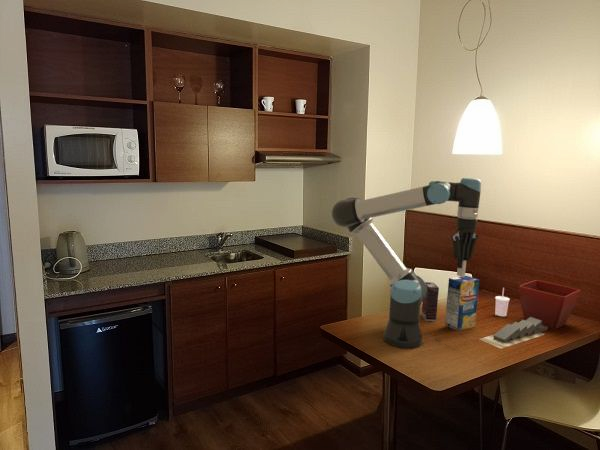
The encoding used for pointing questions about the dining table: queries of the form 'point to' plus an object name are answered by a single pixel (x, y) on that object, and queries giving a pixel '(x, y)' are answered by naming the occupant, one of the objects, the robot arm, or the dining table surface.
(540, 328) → the domino
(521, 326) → the domino
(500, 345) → the board
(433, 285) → the supplement box
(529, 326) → the domino
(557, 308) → the plant pot
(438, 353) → the dining table surface
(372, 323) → the dining table surface
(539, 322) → the domino
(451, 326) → the beverage box
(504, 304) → the beverage cup
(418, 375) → the dining table surface
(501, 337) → the domino
